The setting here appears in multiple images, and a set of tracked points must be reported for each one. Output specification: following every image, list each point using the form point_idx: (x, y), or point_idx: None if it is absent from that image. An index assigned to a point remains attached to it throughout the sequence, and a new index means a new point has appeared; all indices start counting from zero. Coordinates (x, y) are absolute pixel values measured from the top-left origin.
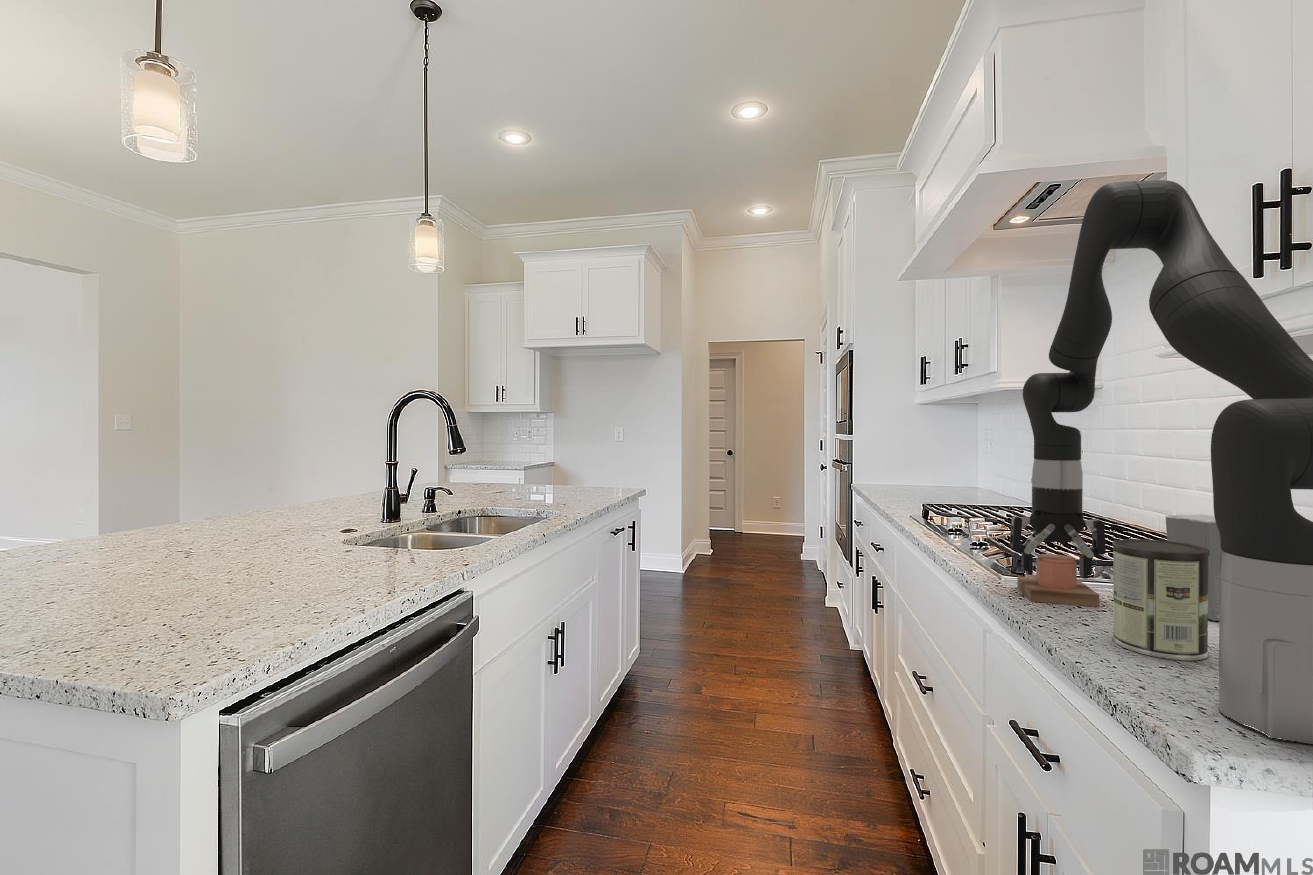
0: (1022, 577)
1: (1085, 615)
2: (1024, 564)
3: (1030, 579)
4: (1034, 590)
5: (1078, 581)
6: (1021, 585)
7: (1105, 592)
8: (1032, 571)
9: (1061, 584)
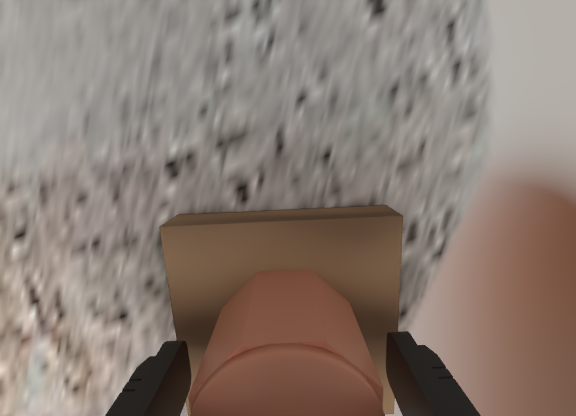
0: None
1: (244, 77)
2: (443, 371)
3: None
4: (390, 216)
5: None
6: None
7: None
8: (395, 338)
9: (281, 278)
